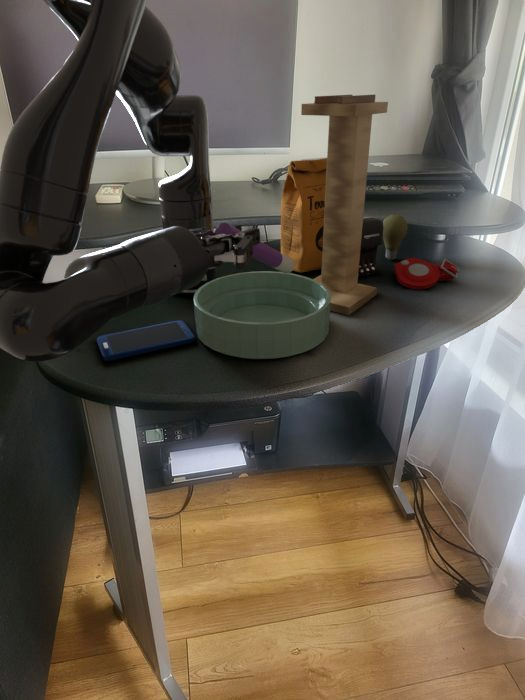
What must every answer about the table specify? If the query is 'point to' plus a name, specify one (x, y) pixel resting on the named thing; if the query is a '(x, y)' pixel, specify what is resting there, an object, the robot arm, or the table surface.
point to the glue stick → (262, 251)
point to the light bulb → (393, 234)
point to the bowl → (262, 314)
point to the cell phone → (144, 340)
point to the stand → (345, 194)
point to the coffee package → (304, 214)
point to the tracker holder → (423, 273)
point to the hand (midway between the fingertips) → (248, 233)
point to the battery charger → (370, 245)
